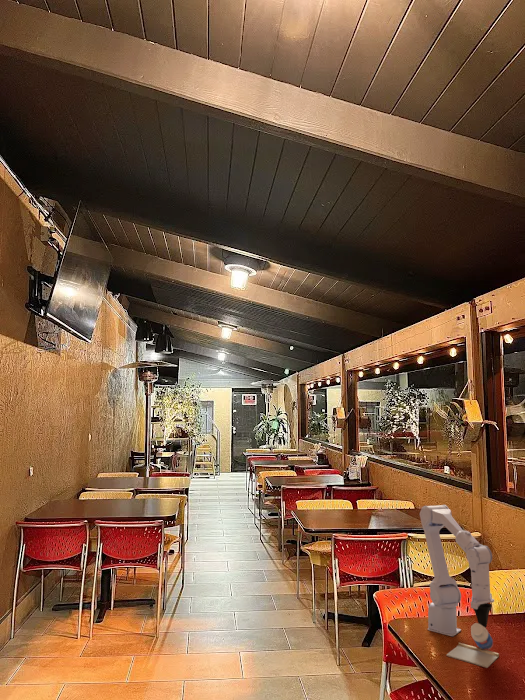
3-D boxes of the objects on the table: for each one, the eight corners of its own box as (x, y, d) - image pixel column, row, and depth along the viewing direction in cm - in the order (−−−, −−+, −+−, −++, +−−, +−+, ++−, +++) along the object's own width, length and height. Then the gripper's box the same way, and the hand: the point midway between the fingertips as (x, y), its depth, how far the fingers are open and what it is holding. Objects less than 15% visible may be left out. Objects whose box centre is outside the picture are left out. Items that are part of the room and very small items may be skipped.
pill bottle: (486, 654, 185) (477, 641, 180) (473, 643, 189) (464, 630, 184) (497, 642, 186) (488, 628, 181) (484, 630, 190) (475, 617, 185)
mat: (446, 655, 182) (446, 654, 182) (458, 646, 190) (458, 645, 190) (487, 667, 174) (487, 666, 174) (498, 657, 181) (497, 656, 181)
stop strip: (458, 646, 190) (458, 643, 190) (459, 645, 190) (459, 642, 190) (498, 657, 181) (497, 654, 181) (499, 656, 182) (498, 653, 182)
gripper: (485, 590, 180) (487, 635, 178) (500, 581, 191) (502, 623, 189) (463, 586, 185) (465, 630, 183) (479, 578, 195) (481, 619, 194)
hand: (482, 626), depth 186 cm, fingers closed, pressing on pill bottle
